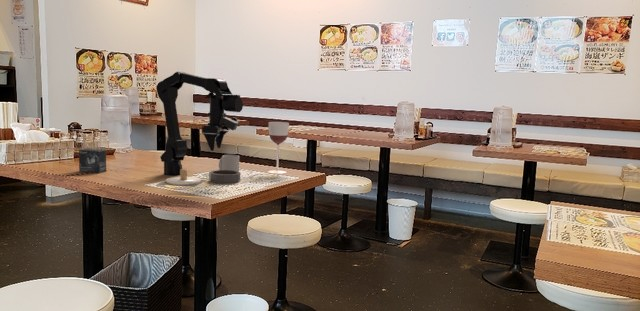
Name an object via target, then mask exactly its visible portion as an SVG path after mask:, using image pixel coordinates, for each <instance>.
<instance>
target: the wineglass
mask: <svg viewBox="0 0 640 311" xmlns="http://www.w3.org/2000/svg"><path fill="white" fill-rule="evenodd" d="M289 127H290V122H288V121H287V122H286V121H269V122H268V135H269V139H270V141H271V142H273V143H275V144H276V146H277V147H276V168H275V169H274V170H268V171H267V173H271V174H276V175H278V174H286V173H288V172H287V171H285V170H279V164H280V163H279V161H280V160H279V159H280V156H279V155H280V145H281V144H282V143H284V142H285V141H286V140H287V139H288V138H287V137H288V134H289V130H290V128H289Z"/></svg>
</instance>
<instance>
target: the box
mask: <svg viewBox="0 0 640 311" xmlns="http://www.w3.org/2000/svg"><path fill="white" fill-rule="evenodd" d="M78 161H79V162H78V167H79V168H78V171H79V172H80V173H92V174H101V173H105V172H107V150H106V149H93V148H81V149H78Z"/></svg>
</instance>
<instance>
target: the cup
mask: <svg viewBox="0 0 640 311" xmlns="http://www.w3.org/2000/svg"><path fill="white" fill-rule="evenodd" d="M218 170H234V171H239V172H240V155H236V154H224V155H222V156H221V157H220V159H219V160H218Z"/></svg>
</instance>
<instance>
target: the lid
mask: <svg viewBox="0 0 640 311" xmlns="http://www.w3.org/2000/svg"><path fill="white" fill-rule="evenodd" d="M201 180H202V179H201V178H200V177H195V176H188V169H187V168H182V169H180V175H179V176H171V177H169V178H166V179H165V181H166V183H168V184H172V185H171V186H176V185H194V184H199V183H201ZM201 184H202V183H201ZM199 185H200V184H199Z"/></svg>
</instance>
